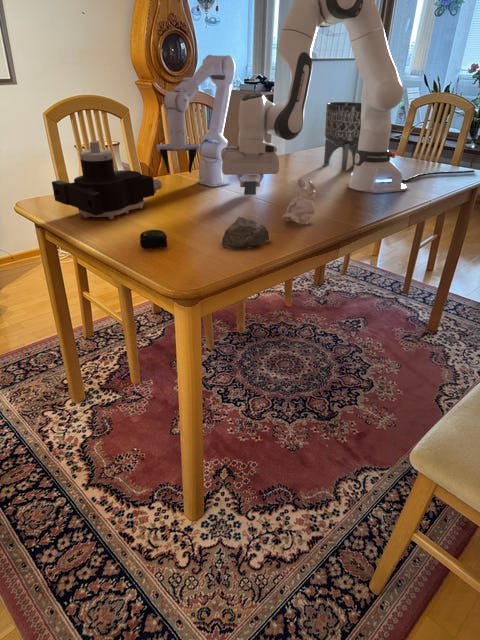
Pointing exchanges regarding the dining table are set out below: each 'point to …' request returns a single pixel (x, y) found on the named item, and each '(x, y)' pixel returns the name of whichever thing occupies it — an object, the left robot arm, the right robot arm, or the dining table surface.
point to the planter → (342, 130)
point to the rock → (245, 234)
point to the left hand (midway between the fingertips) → (179, 172)
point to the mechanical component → (104, 186)
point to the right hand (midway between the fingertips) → (249, 186)
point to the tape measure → (153, 239)
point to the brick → (249, 187)
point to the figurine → (301, 204)
